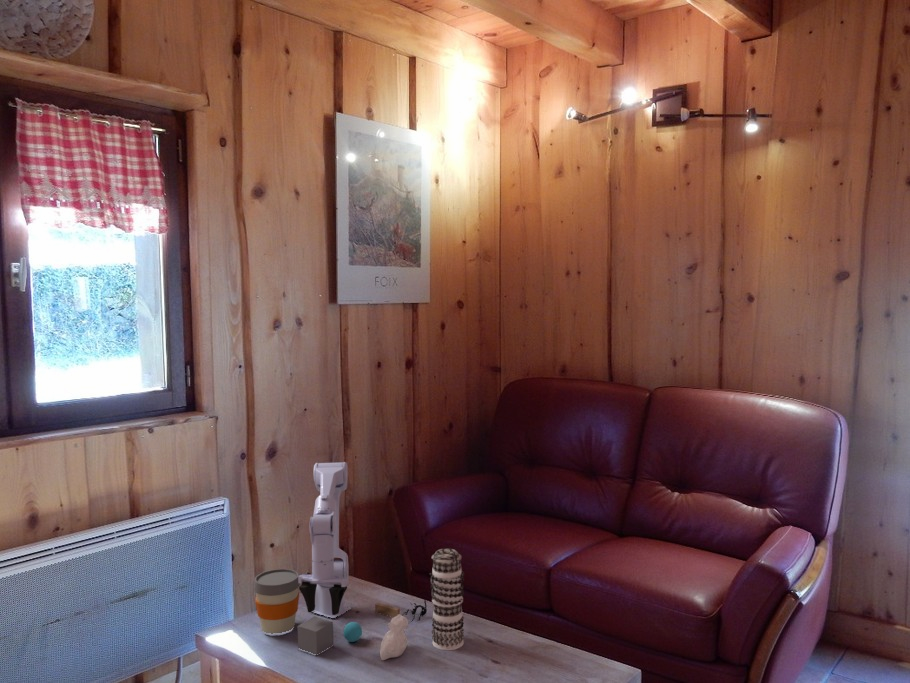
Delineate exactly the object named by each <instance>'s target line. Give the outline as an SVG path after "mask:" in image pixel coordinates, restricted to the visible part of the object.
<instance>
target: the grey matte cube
mask: <svg viewBox="0 0 910 683" xmlns="http://www.w3.org/2000/svg"><path fill="white" fill-rule="evenodd" d="M332 645H333V646H334V621H331V620H328V619H324V618H321V617H318V616H312V617H311V618H309V619H308V620H305V621H304V622H302V623H301V624H298V625H297V648H300V649H302V650H305V651H308V652H311V653H313V654H316V655H317V654H319V653H321V652H322V651H324V650H326V649H327V648H329V647H331V646H332ZM333 646H332V647H333ZM332 647H331V648H332ZM329 649H330V648H329ZM326 651H327V650H326ZM321 654H322V653H321Z"/></svg>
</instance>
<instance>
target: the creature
mask: <svg viewBox="0 0 910 683" xmlns="http://www.w3.org/2000/svg"><path fill="white" fill-rule="evenodd" d="M426 601H427V597H426V598H425V599H424V603H423V604H424V605H421V604H419V605H417V603H410V605H411V606H413V607H414V608H412V609H410V608H408V609H407V610H406V611H404V612H403V613H402V614H401V616H404V615H408V613H409V612H410V613H411V614H412V615H414V616H413V618H412V619H411V620H412V621H411V620H410V623H412V622H413V621H414V620H415V616H416V615H418V616H419V615H420V616H419V618H418V621H421V617H424V616H425V615H426V614H427V611H428V608H427V602H426ZM413 604H414V605H415V606H414V605H413ZM419 608H421V611H420V612H419V614H418V613H417V610H418V609H419ZM416 613H417V614H416Z"/></svg>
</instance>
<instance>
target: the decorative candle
mask: <svg viewBox="0 0 910 683" xmlns="http://www.w3.org/2000/svg"><path fill="white" fill-rule="evenodd" d="M431 560H432V571H431V572H430V573H429V576H430V578H429V580H430V582H429V583H430V589H431V592H430V593H431V594H430V596H431V602H432V603H433V611H432V616H431V620H432V624H431V626H432V630H431V633H432V636H431V639H432V645H433V647H434V648H436V649H438V650H440V651H454V650H458V649H461V648H462V646H463V645H464V637H465V636H464V630H465V629H464V624H465V623H464V618H465V617H464V616H463V609H462V603H463V602H464V597H463V596H464V593H465V591H464V588H465V586H464V584H462V583H463V582H465V578H464V577H465V572H464V571H463V570H462V563H461V562H462V555H461V554H460V553H459V552H458V551H457V550H456V549H453V548H446V547H445V548H440V549H438V550H436V551H435V553H434V554H432V555H431Z"/></svg>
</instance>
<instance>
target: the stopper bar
mask: <svg viewBox="0 0 910 683" xmlns="http://www.w3.org/2000/svg"><path fill="white" fill-rule="evenodd" d="M374 610H375V612H377V613H376V614H379V613H381V614H380V615H382V614H384V615H383V616H386V615H388V616H387V617H390V616H391V617H390V618H393V617H396V616H397V615H398V614H400V615H401V613H400V610H401V609H400V608H398V607H395V606H390V605H388V604H383V603H380V602H376V603H375V604H374ZM375 612H374V613H375Z"/></svg>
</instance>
